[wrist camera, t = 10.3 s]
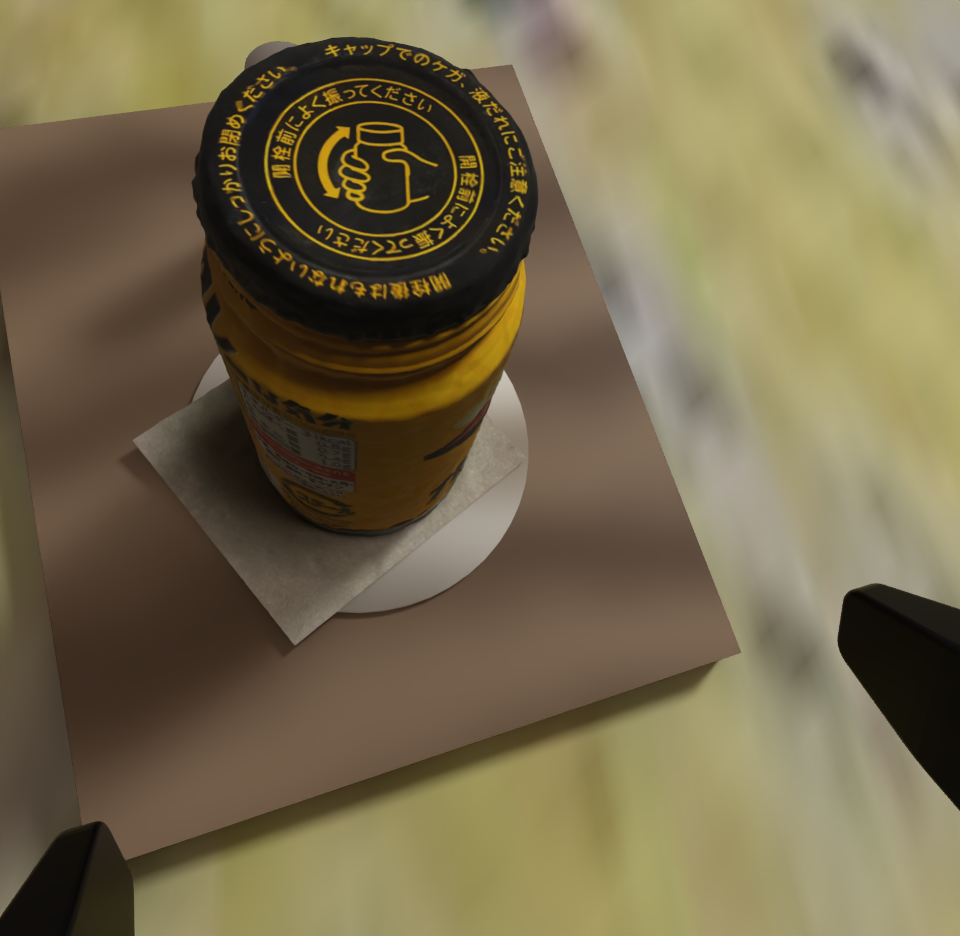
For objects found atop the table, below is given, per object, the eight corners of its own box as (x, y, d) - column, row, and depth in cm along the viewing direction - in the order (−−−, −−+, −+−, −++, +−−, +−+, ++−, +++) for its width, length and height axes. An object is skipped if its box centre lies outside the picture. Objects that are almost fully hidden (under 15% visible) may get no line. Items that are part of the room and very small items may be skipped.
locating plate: (722, 655, 24) (869, 628, 17) (104, 863, 19) (-31, 938, 13) (506, 89, 29) (550, -100, 23) (-8, 158, 25) (-141, -50, 18)
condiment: (525, 460, 23) (683, 211, 12) (295, 646, 20) (218, 552, 9) (372, 289, 24) (385, -90, 13) (135, 444, 22) (-110, 138, 10)
